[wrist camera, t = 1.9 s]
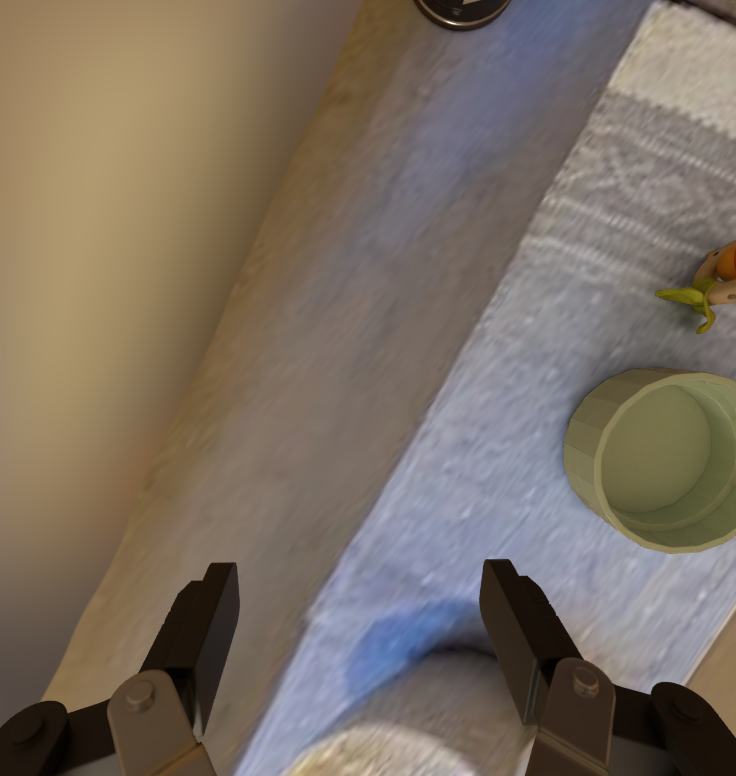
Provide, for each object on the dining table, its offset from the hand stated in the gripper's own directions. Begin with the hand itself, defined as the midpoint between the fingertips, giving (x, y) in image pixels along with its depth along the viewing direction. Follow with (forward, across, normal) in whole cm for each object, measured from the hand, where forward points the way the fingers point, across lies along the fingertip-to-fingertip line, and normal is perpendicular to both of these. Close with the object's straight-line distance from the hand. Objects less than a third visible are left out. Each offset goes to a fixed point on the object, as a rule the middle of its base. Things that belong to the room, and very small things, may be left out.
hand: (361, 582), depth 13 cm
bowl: (+24, -28, +6) cm, 37 cm away
